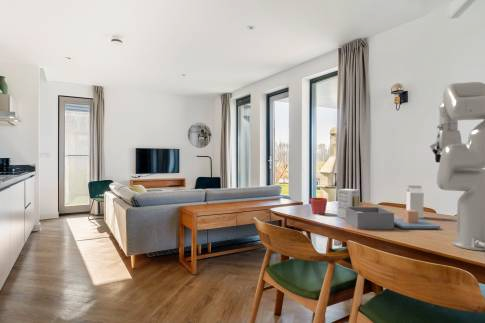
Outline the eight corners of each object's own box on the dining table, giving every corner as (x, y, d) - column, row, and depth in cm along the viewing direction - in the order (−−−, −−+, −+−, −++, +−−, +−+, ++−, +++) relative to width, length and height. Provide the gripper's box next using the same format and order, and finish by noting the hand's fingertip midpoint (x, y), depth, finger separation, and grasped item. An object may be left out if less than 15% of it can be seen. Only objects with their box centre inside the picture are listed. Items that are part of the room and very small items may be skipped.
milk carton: (423, 218, 176) (423, 186, 176) (410, 218, 178) (410, 186, 178) (418, 216, 183) (419, 185, 183) (406, 215, 185) (406, 185, 185)
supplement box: (351, 219, 173) (351, 190, 173) (337, 217, 180) (337, 189, 180) (359, 217, 179) (359, 189, 179) (345, 215, 186) (345, 188, 186)
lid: (440, 230, 149) (440, 214, 149) (401, 230, 150) (401, 213, 150) (418, 222, 168) (418, 207, 168) (384, 222, 169) (384, 207, 169)
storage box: (393, 229, 150) (394, 213, 150) (357, 228, 151) (357, 212, 150) (378, 221, 168) (378, 207, 168) (345, 221, 169) (346, 207, 168)
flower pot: (309, 214, 188) (309, 199, 188) (310, 211, 199) (310, 197, 198) (326, 215, 185) (327, 200, 185) (327, 212, 195) (327, 197, 195)
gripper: (435, 127, 146) (435, 162, 147) (471, 127, 146) (471, 162, 146) (426, 128, 154) (426, 162, 154) (460, 128, 154) (460, 162, 154)
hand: (448, 162), depth 150 cm, fingers open, 9 cm apart
